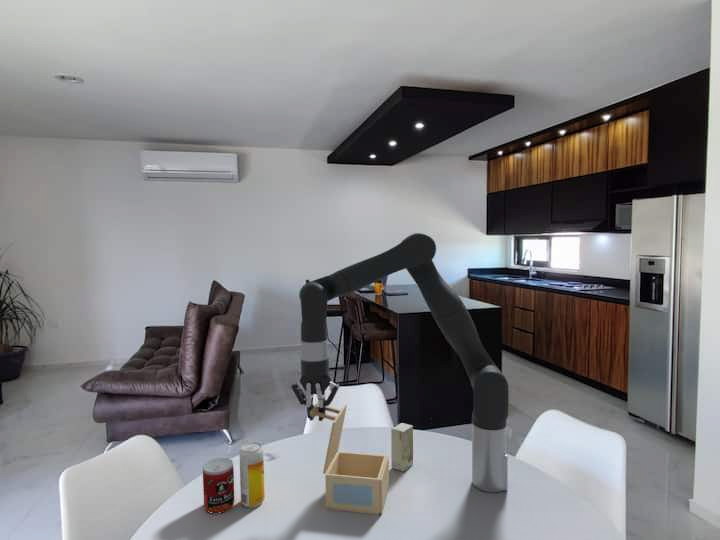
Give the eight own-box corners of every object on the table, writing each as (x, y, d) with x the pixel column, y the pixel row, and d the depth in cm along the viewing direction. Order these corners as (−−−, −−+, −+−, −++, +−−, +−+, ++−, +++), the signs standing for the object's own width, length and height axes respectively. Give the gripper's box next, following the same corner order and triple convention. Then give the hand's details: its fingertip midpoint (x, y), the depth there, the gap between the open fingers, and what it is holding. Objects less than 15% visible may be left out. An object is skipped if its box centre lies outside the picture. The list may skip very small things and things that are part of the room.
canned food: (206, 518, 109) (204, 475, 108) (201, 502, 116) (200, 461, 115) (237, 509, 112) (236, 467, 112) (231, 494, 120) (230, 455, 119)
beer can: (269, 498, 117) (267, 444, 116) (254, 511, 112) (253, 453, 111) (251, 493, 120) (249, 440, 119) (236, 505, 114) (234, 449, 113)
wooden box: (389, 487, 122) (388, 455, 121) (381, 515, 109) (381, 480, 108) (338, 482, 125) (338, 451, 124) (325, 509, 112) (325, 475, 111)
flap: (347, 404, 123) (320, 396, 125) (335, 422, 110) (305, 413, 112) (337, 450, 124) (311, 443, 126) (325, 473, 112) (296, 465, 113)
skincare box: (403, 472, 130) (402, 432, 129) (390, 468, 132) (390, 428, 132) (414, 463, 135) (413, 425, 134) (402, 459, 137) (401, 421, 137)
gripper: (342, 353, 120) (344, 415, 120) (295, 352, 122) (297, 413, 123) (335, 360, 112) (337, 426, 113) (285, 359, 115) (287, 423, 116)
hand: (316, 419), depth 118 cm, fingers closed on flap, 2 cm apart
